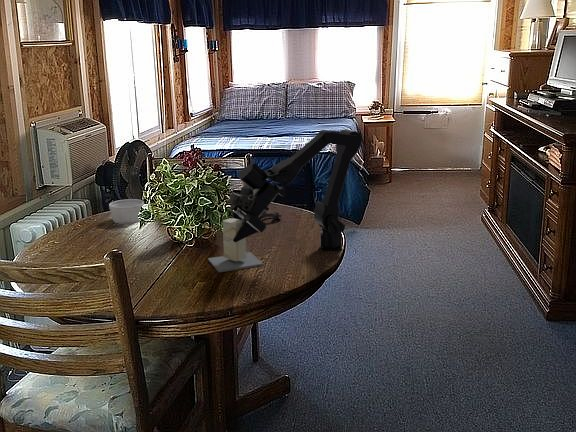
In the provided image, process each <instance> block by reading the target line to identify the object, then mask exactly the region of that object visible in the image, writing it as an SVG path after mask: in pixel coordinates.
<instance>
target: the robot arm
mask: <svg viewBox="0 0 576 432" xmlns="http://www.w3.org/2000/svg"><path fill="white" fill-rule="evenodd" d="M362 143H363V137H362V135H361V134H360V132H358V131H355V130H351V129H346V128H345V129H342V130H340V131H337V130H327V129H321V130H320V131H319V132H318V133H317V134H316V135H314V137H313V138H312V139H310V140H309V141H308V142H307V143H305V145H303V146H302V147H301V148H300V149H299V150H298V151H296V152H295V153H294V154H293V155H291V156H290V157H289V158H287V159H283V160H282V161H280V162H278V163H276V164H274V165H273V166H272V168H269V169H264V170H263V169H262V168H261V167H260V166H259V164H258V163H256V162H254V161H252V162H251V163H250V164H248V165H246V166H245V167H242V169H241V170H240V172H239V174H238V179H239V180H240V181H241V182H242V184H243V183H245V184H246V185H247V186H248V187H249V188H250V189H252V190H255V189H257V191H256V193H255V194H254V195H252V194H251V195H249V196H246V195H243V194H242V195H240V193H236V192H233V191H231V194H230V197H229V200H228V202H229V203H230V206H229V208H230V213H231V218H235V219H239V220H242V226H241V228H240V229H239V231H238V232H237V234H236V235H235V237H234V239H233V241H234V242H238V241H240V240H242V239H244V238H246V239H247V237H250V236H252V235H254V234H257V233H259V232H261V233H262V234H263V233H264V232H265V231H266V229H267V224H266V222H264V221H263V220H262V218H259V217H260V216H261V214H262V213H263V212H264V211H265V210H266V212H268V211H269V210H270V208H269V206H270V205H271V204H272V202H273V201H274V200H275V199H276V197H277V196H278V195H280V196H281V197H282V198H285V196H286V194H285V193H286V192H285V188H284V187H283V186H289V185H291V183H293V182H294V180H295V179H296V178H297V176H298V175H299V173H300V172H301V169H303V167H304V166H306V164H308V163H309V162H310V161H311V160H312V159H314V157H316V156H317V155H318V154H319V153H320V152H321V151H322V150H324V149H325V148H326V147H327V146H329V144H330V145H331V144H332V145H335V151H336V156H335V157H336V158H335V161H334V163H333V167H332V170H331V174H330V178H329V181H328V185H327V187H326V191H325V194H324V198H323V199H322V200H321V201H318V200H317V201H316V202H315V207H314V209H313V211H312V213H313V218H314V220H315V222H316V223H317V224H318V226H319V227H320V229H321V232H320V233H319V246H320V248H321V250H322V251H342V250H343V246H342V233H344V231H345V228H346V225H345V224H344V223H343V222H342V221H341V220H339V218H340V217H339V216H340V207H339V206H340V205H339V201H340V198H341V194H342V190H343V188H344V184H345V180H346V177H347V175H348V171H349V168H350V165H351V161H352V160H353V158H354V157H355V156H356V155H357V153H358V152H359V150H360V148H361V145H362ZM267 179H268V180H270V181H271V182H269V181H268V180H267ZM276 183H277V184H278V185H277V184H276ZM279 185H281V186H279Z"/></svg>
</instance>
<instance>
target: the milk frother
mask: <svg viewBox="0 0 576 432" xmlns="http://www.w3.org/2000/svg"><path fill="white" fill-rule="evenodd" d="M242 184H243V185H242V187H241V190H240V193H239V195H242V194H243V195H246V196H249V195H251V194H252V195H254V194H255V193H256V191H257V189H255V190H252V189H250V188H249V187H248V186H247V185H246V184H245V183H243V182H242ZM263 217H265V218H266V217H267V218H273V219H274V220H278V219H279V218H282V214H280V213H279V212H277V211H276V212H274V213H267V211H266V210H265V211H264V212H263V213H262V214H261V216H260V217H259V218H260V219H262V218H263Z"/></svg>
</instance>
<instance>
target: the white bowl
mask: <svg viewBox="0 0 576 432" xmlns="http://www.w3.org/2000/svg"><path fill="white" fill-rule="evenodd" d="M143 205H144V206H145V201H144V200H143V199H142V200H141V199H137V198H136V199H134V198H129V199H128V198H127V199H119V200H115V201H112V202H110V203H109V204H108V208H109V211H110V214H111V219H112V221H113V222H115V223H116V224H119V225H121V224H122V225H128V224H129V225H130V224H134V223H135V224H136V223H138V222H141V220H139V218H138V214H139V212H140V209H141V207H142V206H143ZM115 223H114V224H115Z"/></svg>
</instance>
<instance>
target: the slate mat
mask: <svg viewBox="0 0 576 432" xmlns="http://www.w3.org/2000/svg"><path fill="white" fill-rule="evenodd" d="M207 261H208V262H209V263H210V264H211V266H212V267H214V269H215V270H216V271H217V272H218V273H224V272H230V271H231V272H232V271H237V270H243V269H250V268H256V267H262V266H263V265H264V264H263V262H262V261H261V260H260V259H259V258H257V257H256V255H254V254H253V253H252V252H250V251H248V252H247V251H246V259H243V260H240V261H233V260H230V259H227V258H224V255H222V256H221V255H220V256H213V257H209V258H207Z"/></svg>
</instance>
